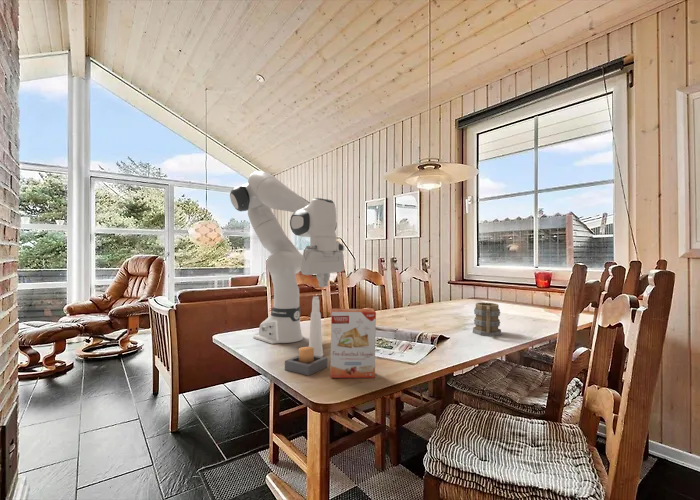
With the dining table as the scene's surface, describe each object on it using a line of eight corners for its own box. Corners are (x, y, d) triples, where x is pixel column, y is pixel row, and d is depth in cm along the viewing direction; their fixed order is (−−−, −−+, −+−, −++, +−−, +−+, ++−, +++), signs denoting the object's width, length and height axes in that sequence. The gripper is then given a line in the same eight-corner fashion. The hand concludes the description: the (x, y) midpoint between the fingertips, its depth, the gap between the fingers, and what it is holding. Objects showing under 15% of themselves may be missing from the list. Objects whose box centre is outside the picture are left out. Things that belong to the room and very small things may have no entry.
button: (295, 361, 118) (295, 349, 118) (305, 357, 122) (305, 345, 122) (307, 364, 115) (307, 351, 115) (316, 360, 120) (316, 348, 120)
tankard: (473, 329, 179) (473, 299, 179) (500, 331, 174) (501, 300, 174) (471, 338, 161) (471, 305, 161) (501, 341, 156) (502, 307, 156)
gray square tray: (284, 369, 117) (284, 360, 117) (303, 361, 126) (304, 353, 126) (308, 375, 112) (308, 366, 112) (327, 366, 120) (327, 357, 120)
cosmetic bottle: (315, 352, 137) (316, 295, 137) (326, 355, 133) (327, 296, 133) (303, 355, 133) (304, 296, 133) (315, 359, 129) (315, 298, 129)
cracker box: (330, 379, 109) (330, 311, 109) (330, 372, 115) (330, 307, 115) (375, 378, 110) (376, 311, 110) (373, 371, 116) (373, 307, 116)
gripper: (312, 245, 109) (312, 290, 109) (346, 246, 127) (346, 284, 127) (296, 245, 113) (296, 289, 113) (332, 246, 130) (332, 283, 130)
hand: (323, 286), depth 120 cm, fingers closed
